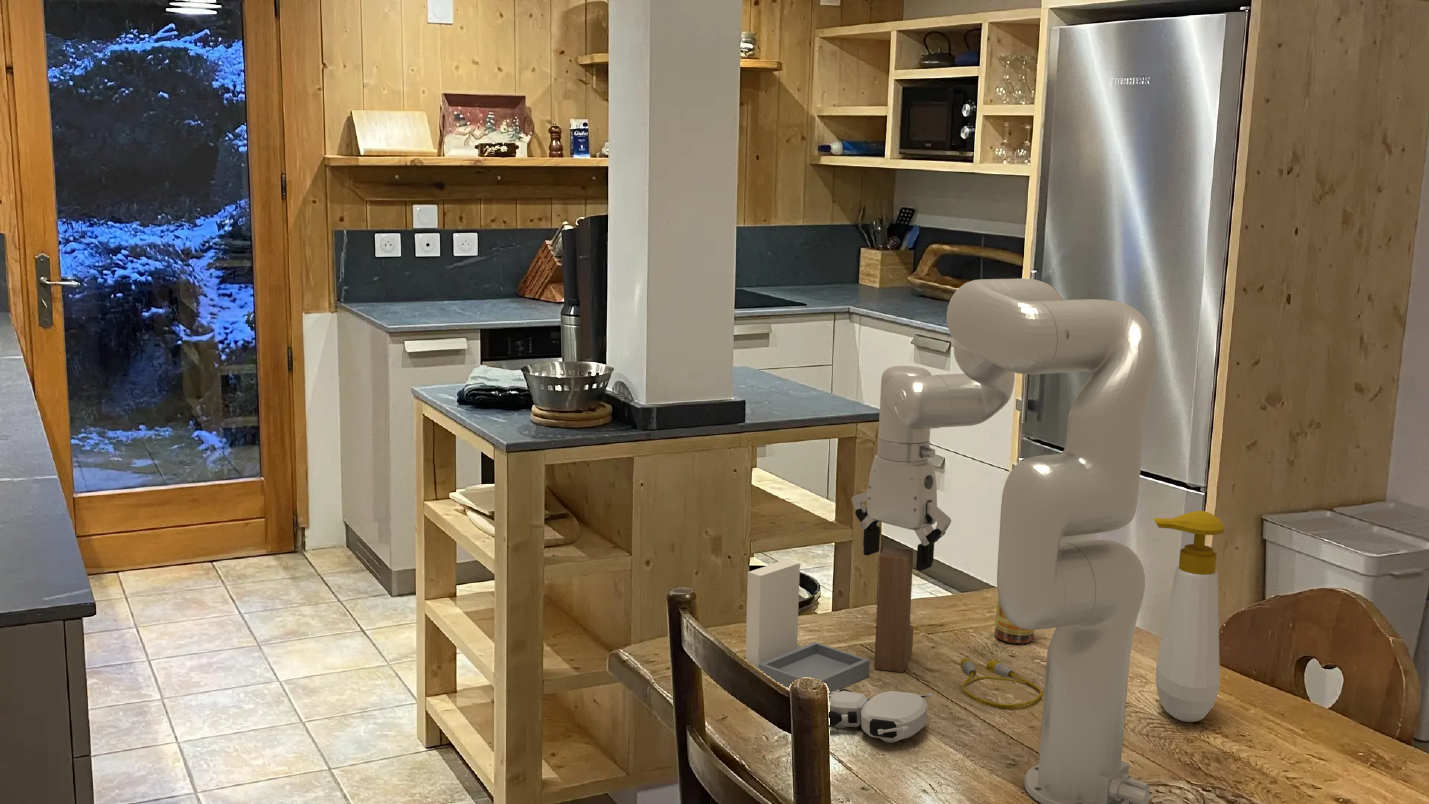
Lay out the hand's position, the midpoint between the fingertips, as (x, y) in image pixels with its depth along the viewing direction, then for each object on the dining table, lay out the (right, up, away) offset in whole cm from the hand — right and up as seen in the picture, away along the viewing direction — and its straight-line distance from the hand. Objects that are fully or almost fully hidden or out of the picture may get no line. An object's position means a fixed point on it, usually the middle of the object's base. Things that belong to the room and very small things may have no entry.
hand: (897, 560), depth 202 cm
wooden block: (0, -16, +3) cm, 16 cm away
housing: (-15, -16, -3) cm, 22 cm away
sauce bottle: (+21, -14, +13) cm, 28 cm away
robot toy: (-7, -20, -21) cm, 30 cm away
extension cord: (+14, -18, -6) cm, 24 cm away
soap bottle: (+37, -20, -14) cm, 44 cm away
